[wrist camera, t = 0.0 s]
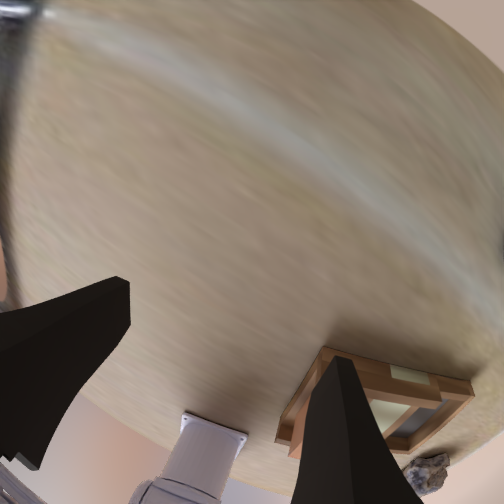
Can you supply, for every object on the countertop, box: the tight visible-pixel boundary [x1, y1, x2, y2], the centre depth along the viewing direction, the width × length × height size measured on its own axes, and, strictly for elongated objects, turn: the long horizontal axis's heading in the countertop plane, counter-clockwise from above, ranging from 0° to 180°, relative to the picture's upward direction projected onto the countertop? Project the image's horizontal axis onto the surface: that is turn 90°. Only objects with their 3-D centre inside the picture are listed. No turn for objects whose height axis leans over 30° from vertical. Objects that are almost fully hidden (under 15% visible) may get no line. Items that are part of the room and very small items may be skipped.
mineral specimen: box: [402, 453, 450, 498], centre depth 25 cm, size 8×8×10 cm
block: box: [288, 395, 311, 459], centre depth 20 cm, size 4×4×4 cm
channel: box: [275, 346, 475, 454], centre depth 21 cm, size 11×16×3 cm
